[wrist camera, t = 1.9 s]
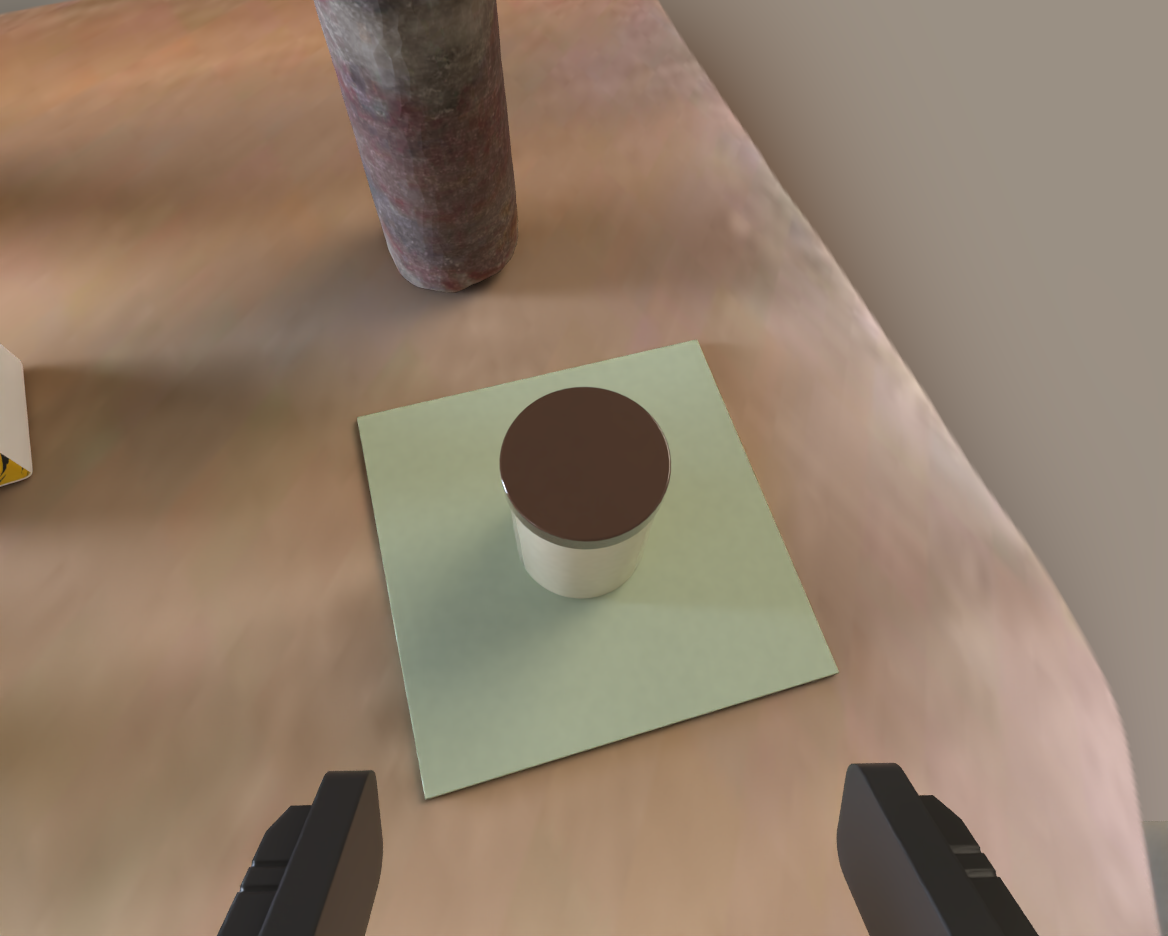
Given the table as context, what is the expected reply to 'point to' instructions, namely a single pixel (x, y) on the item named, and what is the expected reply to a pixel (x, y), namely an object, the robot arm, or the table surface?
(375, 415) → the desk mat
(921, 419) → the table surface
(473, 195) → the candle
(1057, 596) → the table surface
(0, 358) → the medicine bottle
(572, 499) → the jar
